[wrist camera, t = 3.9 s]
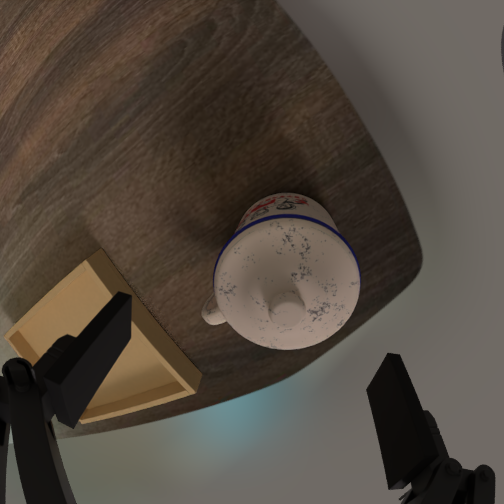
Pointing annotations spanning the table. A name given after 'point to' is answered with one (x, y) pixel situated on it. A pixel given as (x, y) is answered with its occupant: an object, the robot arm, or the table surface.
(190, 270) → the table surface
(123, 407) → the tray
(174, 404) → the table surface
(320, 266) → the teacup with lid
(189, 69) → the table surface
